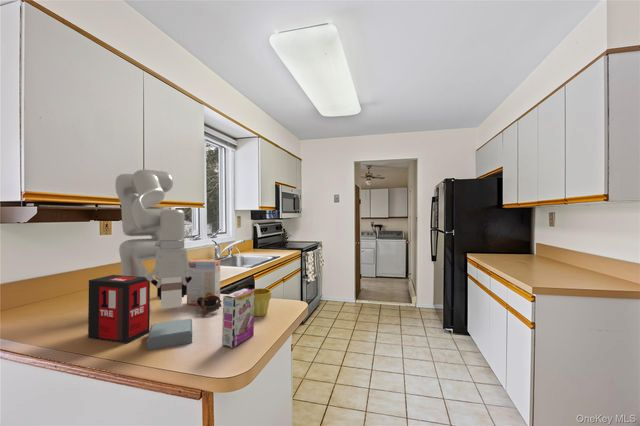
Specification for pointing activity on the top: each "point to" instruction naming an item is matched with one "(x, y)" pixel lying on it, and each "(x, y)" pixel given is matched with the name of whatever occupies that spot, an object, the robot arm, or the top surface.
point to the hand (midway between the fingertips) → (172, 296)
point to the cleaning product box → (118, 308)
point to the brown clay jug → (209, 303)
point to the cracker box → (203, 280)
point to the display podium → (169, 334)
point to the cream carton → (171, 292)
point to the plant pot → (261, 301)
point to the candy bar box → (238, 317)
